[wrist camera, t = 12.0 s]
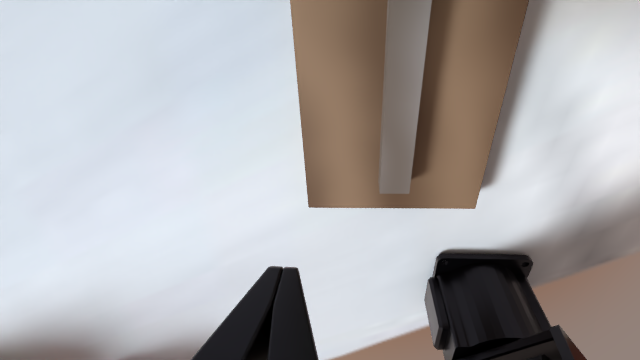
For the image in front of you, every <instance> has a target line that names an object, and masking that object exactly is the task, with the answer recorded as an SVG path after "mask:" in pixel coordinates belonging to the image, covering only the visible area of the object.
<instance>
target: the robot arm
mask: <svg viewBox="0 0 640 360" xmlns="http://www.w3.org/2000/svg"><path fill="white" fill-rule="evenodd" d="M532 265H533V262H532V260H531V258H530V257H529V256H526V255H479V254H441V255H439V256H437V258H436V262H435V267H434V272H433V277H430V278H429V280H428V283H427V289H426V294H425V305H426V310H427V315H428V320H429V325H430V330H431V335H432V340H433V345H434V347H435V348H436V349H437V350H443V354H444V358H445V360H587V359H586V358H585V357H584V355H583V354H582V353H581V352H580V350H579V349H578V348H577V347H576V345H575V344H574V343H573V342H572V341H571V339H570V338H569V337H568V335H567V334H566V333H565V332H564V331H563V329H562V328H561V327H560V326H559V325H557V326H553V327H551V325H550V323H549V321H548V319H547V317H546V316H545V313H544V312H543V310H542V308H541V306H540V304H539V302H538V300H537V298H536V296H535V294H534V292H533V290H532V288H531V286H530V284H529V282H528V280H527V277H528V275H529V272H530V270H531V268H532ZM191 360H318V355H317V351H316V346H315V342H314V337H313V333H312V328H311V324H310V319H309V315H308V311H307V306H306V302H305V297H304V293H303V288H302V284H301V279H300V275H299V270H298V268H296V267H285V268H283V267H279V266H270V267H268V268H267V270H266V271H265V272H264V273H263V274H262V276H261V277H260V278H259V279H258V280H257V282H256V283H255V284H254V285H253V286H252V288H251V289H250V290H249V291H248V292H247V294H246V295H245V296H244V297H243V298H242V300H241V301H240V302H239V303H238V304H237V305H236V307H235V308H234V309H233V310H232V311H231V313H230V314H229V315H228V316H227V317H226V319H225V320H224V321H223V322H222V323H221V325H220V326H219V327H218V328H217V329H216V331H215V332H214V333H213V334H212V335H211V337H210V338H209V339H208V340H207V341H206V343H205V344H204V345H203V346H202V347H201V349H200V350H199V351H198V352H197V353H196V355H195V356H194V357H193V358H192V359H191Z"/></svg>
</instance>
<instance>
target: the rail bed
mask: <svg viewBox="0 0 640 360" xmlns="http://www.w3.org/2000/svg"><path fill="white" fill-rule="evenodd" d="M528 2H529V0H290V4H291V15H292V26H293V38H294V49H295V60H296V71H297V82H298V93H299V104H300V116H301V127H302V138H303V149H304V160H305V171H306V183H307V194H308V205H309V207H315V208H462V209H475V207H476V203H477V199H478V195H479V192H480V188H481V184H482V180H483V176H484V172H485V168H486V164H487V161H488V157H489V153H490V149H491V145H492V141H493V137H494V133H495V130H496V126H497V122H498V118H499V114H500V110H501V106H502V102H503V99H504V95H505V91H506V87H507V83H508V79H509V75H510V71H511V68H512V64H513V60H514V56H515V52H516V48H517V44H518V40H519V37H520V33H521V29H522V25H523V21H524V17H525V13H526V9H527V6H528Z"/></svg>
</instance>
